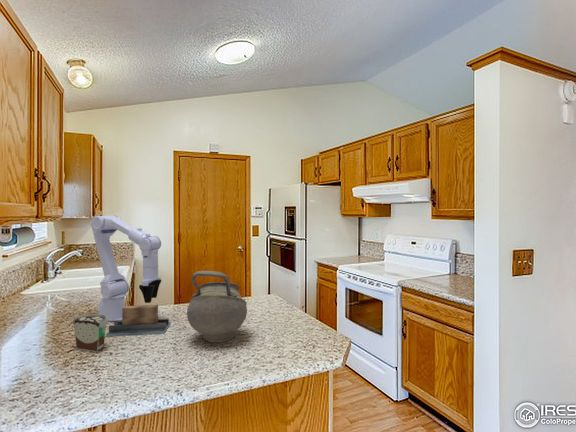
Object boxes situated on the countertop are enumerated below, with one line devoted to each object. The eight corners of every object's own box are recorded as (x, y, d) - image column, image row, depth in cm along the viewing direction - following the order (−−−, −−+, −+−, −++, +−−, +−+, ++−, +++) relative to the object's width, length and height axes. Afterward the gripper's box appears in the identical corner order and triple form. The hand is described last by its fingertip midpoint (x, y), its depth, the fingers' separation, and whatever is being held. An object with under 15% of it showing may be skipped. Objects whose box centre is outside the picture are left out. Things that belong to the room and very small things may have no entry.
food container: (117, 345, 110) (116, 315, 110) (101, 352, 104) (100, 321, 104) (89, 341, 114) (89, 312, 114) (72, 348, 108) (72, 317, 108)
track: (106, 336, 118) (106, 328, 118) (117, 327, 128) (117, 319, 128) (164, 333, 120) (164, 325, 120) (170, 324, 130) (170, 316, 130)
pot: (218, 355, 101) (217, 274, 101) (174, 342, 112) (173, 269, 112) (258, 334, 118) (258, 265, 118) (217, 324, 129) (216, 261, 129)
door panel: (122, 329, 122) (122, 308, 122) (125, 327, 125) (125, 306, 125) (156, 328, 123) (155, 306, 123) (158, 325, 126) (157, 304, 126)
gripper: (155, 269, 125) (156, 304, 125) (165, 263, 140) (165, 295, 140) (136, 269, 124) (136, 305, 125) (148, 264, 139) (148, 295, 139)
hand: (150, 300), depth 132 cm, fingers open, 7 cm apart
